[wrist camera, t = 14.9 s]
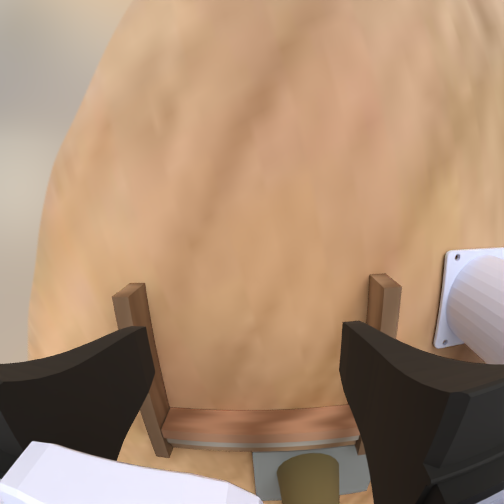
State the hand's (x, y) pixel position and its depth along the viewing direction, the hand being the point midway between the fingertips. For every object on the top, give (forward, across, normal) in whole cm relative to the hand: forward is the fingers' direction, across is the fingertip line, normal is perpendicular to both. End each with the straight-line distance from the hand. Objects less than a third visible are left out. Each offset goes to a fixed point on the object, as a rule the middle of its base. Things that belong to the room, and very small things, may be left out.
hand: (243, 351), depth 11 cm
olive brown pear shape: (+10, -4, +20) cm, 23 cm away
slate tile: (+10, -5, +21) cm, 24 cm away
